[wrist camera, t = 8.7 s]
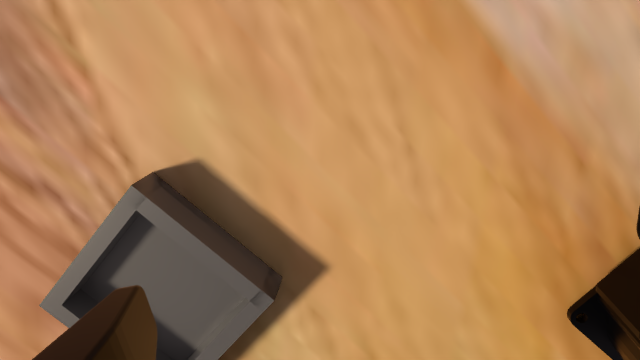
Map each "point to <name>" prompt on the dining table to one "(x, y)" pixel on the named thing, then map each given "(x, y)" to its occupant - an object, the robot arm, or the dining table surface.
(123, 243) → the dark gray open tray
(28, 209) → the dining table surface
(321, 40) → the dining table surface
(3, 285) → the dining table surface
